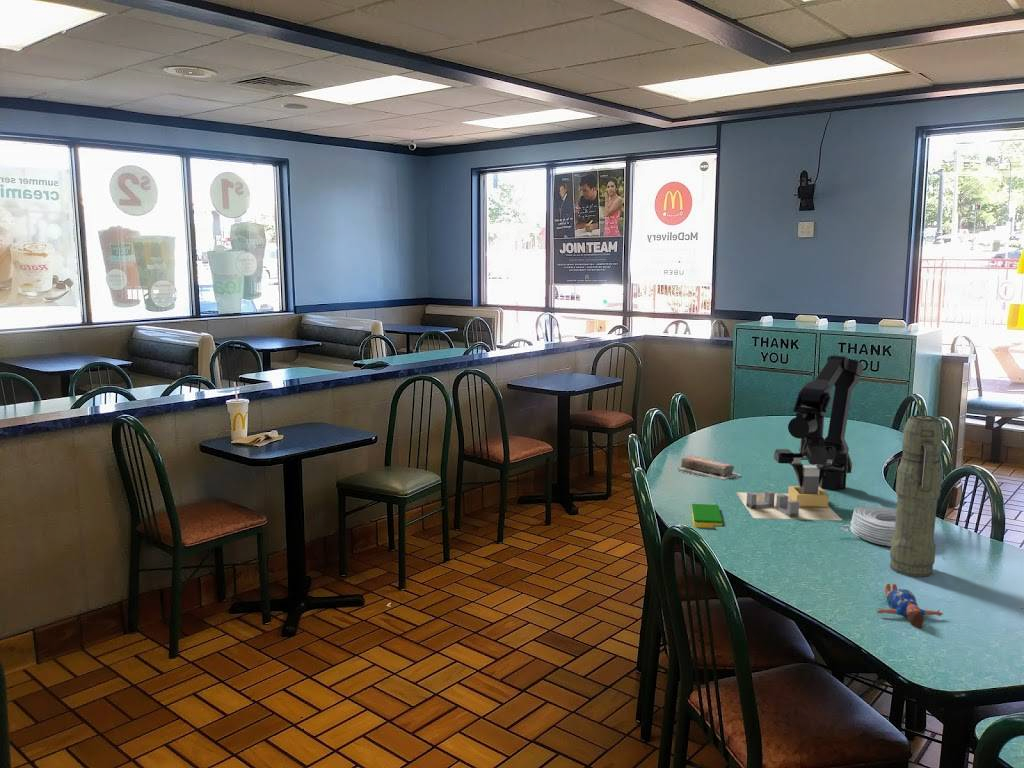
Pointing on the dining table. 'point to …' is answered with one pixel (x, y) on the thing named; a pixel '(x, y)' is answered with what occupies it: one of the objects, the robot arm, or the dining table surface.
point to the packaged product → (707, 468)
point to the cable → (873, 524)
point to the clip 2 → (787, 506)
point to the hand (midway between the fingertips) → (808, 486)
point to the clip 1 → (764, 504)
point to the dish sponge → (706, 515)
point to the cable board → (775, 514)
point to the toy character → (905, 605)
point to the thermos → (917, 497)
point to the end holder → (808, 498)
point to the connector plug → (810, 480)
